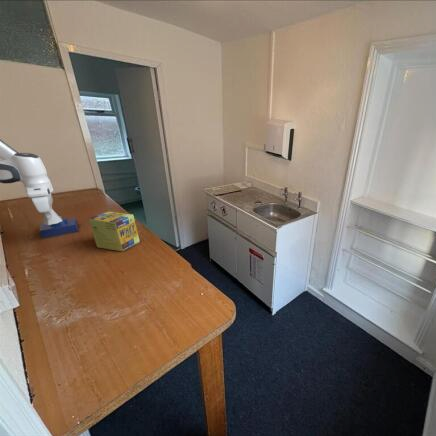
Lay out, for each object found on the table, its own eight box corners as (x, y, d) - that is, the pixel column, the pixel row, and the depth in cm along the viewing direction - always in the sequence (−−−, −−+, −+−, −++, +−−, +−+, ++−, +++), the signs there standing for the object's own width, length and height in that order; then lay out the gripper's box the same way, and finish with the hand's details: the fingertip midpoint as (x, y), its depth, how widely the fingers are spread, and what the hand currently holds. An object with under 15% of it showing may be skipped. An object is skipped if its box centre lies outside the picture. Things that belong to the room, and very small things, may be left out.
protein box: (123, 251, 111) (115, 222, 105) (96, 247, 114) (87, 218, 108) (140, 241, 121) (134, 214, 115) (115, 237, 123) (107, 210, 117)
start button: (52, 222, 125) (51, 219, 124) (53, 220, 127) (52, 217, 127) (62, 220, 127) (61, 218, 126) (63, 218, 130) (61, 215, 129)
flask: (58, 218, 120) (51, 200, 116) (66, 221, 117) (59, 202, 114) (40, 223, 114) (32, 204, 110) (47, 226, 111) (39, 207, 107)
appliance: (42, 238, 120) (37, 227, 118) (44, 230, 128) (40, 220, 125) (77, 231, 128) (74, 221, 126) (78, 224, 136) (74, 215, 134)
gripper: (33, 184, 114) (43, 210, 120) (26, 195, 100) (39, 224, 105) (50, 182, 118) (60, 208, 123) (47, 193, 104) (58, 221, 109)
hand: (50, 215), depth 114 cm, fingers closed on flask, 5 cm apart
